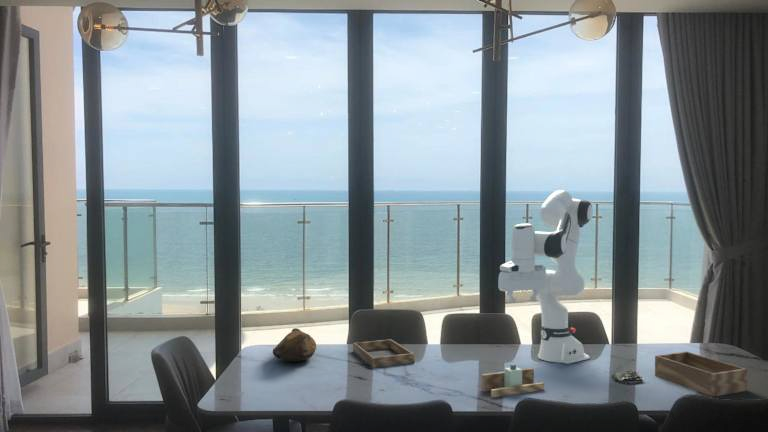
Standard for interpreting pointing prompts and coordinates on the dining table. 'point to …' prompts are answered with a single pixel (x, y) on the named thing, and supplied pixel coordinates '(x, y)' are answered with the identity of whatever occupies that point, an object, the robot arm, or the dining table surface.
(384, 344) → the rectangular wooden frame
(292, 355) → the brown rough lump
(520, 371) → the cabinet block
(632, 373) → the mottled grey lump
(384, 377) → the dining table surface
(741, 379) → the open wooden box
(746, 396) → the dining table surface
